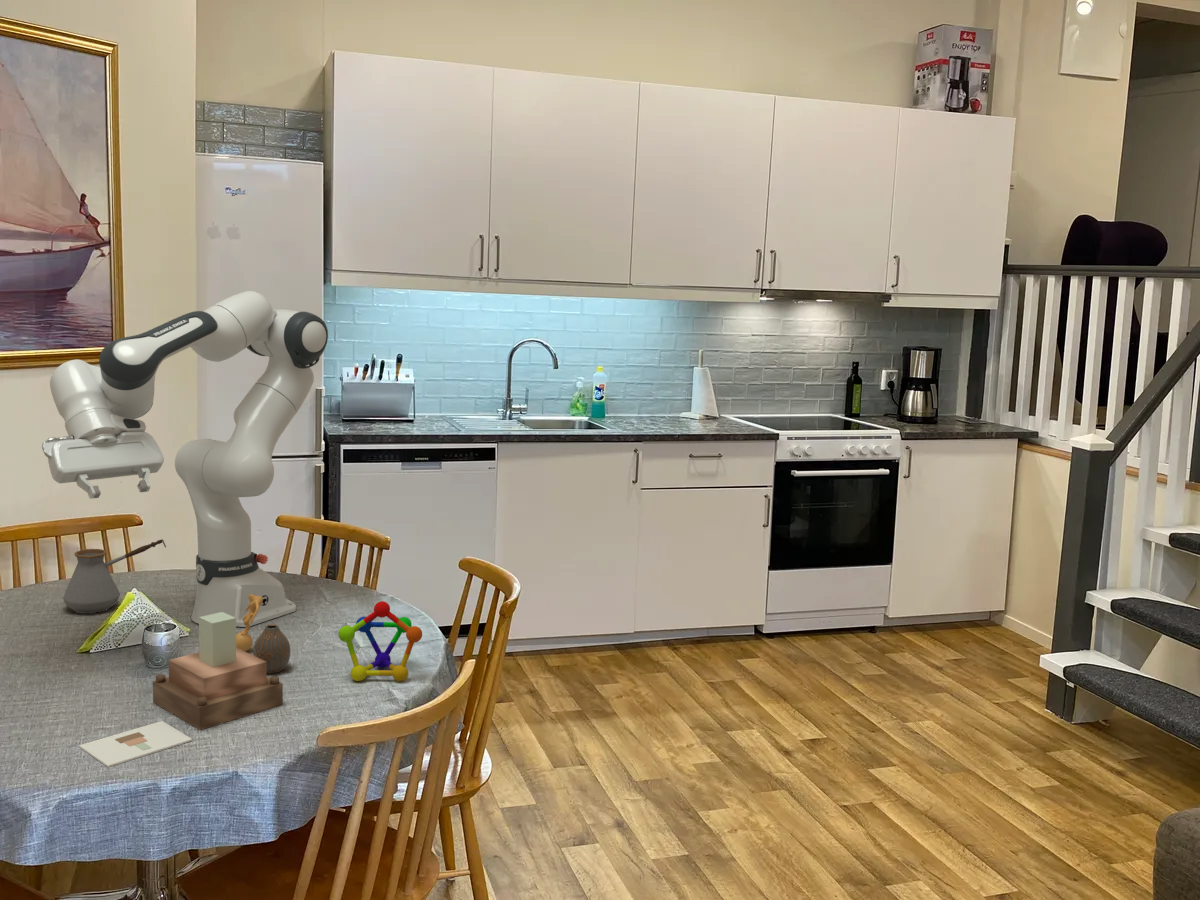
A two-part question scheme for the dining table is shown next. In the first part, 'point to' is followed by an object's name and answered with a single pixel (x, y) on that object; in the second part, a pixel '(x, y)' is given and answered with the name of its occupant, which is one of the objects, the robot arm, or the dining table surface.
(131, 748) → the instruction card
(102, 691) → the dining table surface
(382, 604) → the educational toy
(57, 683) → the dining table surface
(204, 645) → the upright grey-green brick
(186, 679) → the stacked wooden pedestal
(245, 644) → the figurine
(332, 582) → the dining table surface
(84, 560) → the coffee pot
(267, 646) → the vase
